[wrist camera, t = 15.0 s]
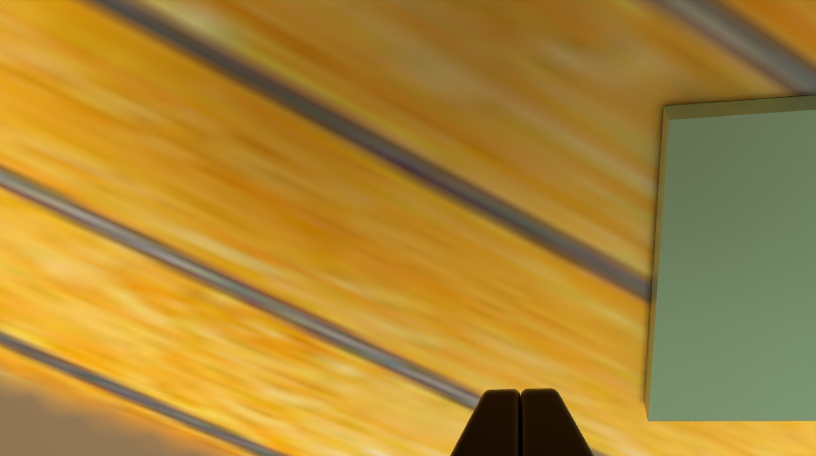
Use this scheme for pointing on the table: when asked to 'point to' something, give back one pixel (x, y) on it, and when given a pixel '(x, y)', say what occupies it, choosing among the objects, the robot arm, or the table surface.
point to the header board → (735, 264)
